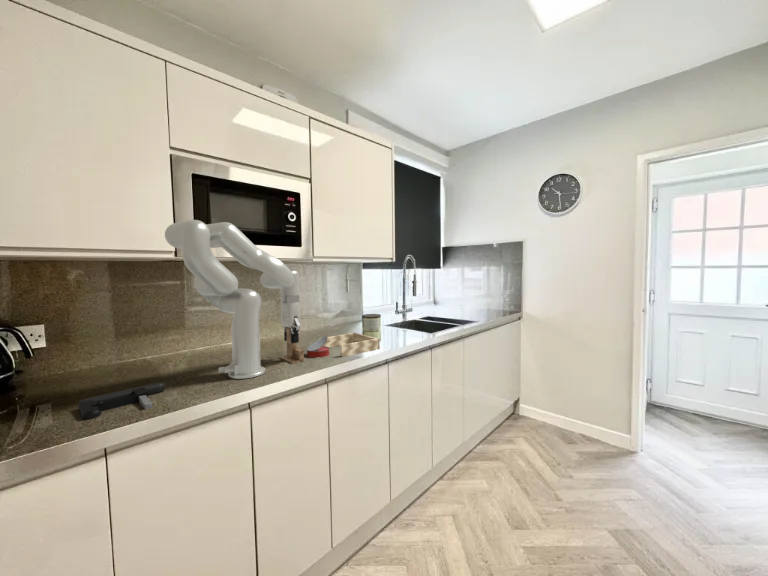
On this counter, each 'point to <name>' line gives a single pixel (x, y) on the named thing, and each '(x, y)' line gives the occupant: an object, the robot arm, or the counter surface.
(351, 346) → the box
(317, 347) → the canned food
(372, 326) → the coffee can
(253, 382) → the counter surface
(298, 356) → the upright wooden block
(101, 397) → the door handle
